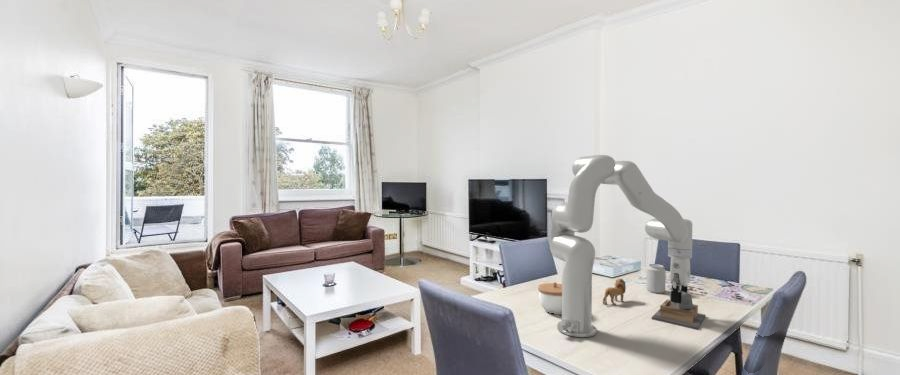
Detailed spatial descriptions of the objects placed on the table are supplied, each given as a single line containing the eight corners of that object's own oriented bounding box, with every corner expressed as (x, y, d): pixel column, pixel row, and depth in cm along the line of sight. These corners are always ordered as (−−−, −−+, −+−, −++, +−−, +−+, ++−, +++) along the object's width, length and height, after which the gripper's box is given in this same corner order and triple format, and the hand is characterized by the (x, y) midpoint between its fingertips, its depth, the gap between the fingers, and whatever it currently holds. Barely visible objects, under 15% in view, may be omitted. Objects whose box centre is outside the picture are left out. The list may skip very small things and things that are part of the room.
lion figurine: (615, 297, 161) (616, 276, 161) (628, 300, 157) (628, 279, 157) (599, 305, 151) (599, 283, 151) (612, 308, 147) (613, 285, 147)
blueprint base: (697, 329, 126) (697, 316, 126) (651, 319, 136) (651, 306, 136) (705, 316, 138) (705, 304, 138) (663, 307, 148) (663, 296, 147)
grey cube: (684, 304, 139) (682, 291, 139) (693, 308, 134) (691, 294, 134) (671, 306, 138) (669, 292, 139) (679, 309, 133) (677, 295, 134)
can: (642, 290, 171) (643, 264, 171) (653, 288, 174) (654, 262, 174) (657, 294, 164) (658, 267, 164) (669, 292, 167) (669, 266, 167)
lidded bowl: (548, 318, 137) (548, 288, 136) (532, 307, 149) (532, 279, 148) (578, 315, 140) (579, 285, 140) (560, 304, 152) (560, 277, 152)
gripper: (686, 258, 127) (686, 307, 128) (696, 250, 140) (695, 296, 141) (662, 254, 133) (661, 302, 133) (673, 248, 145) (673, 291, 146)
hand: (679, 299), depth 137 cm, fingers open, 9 cm apart
